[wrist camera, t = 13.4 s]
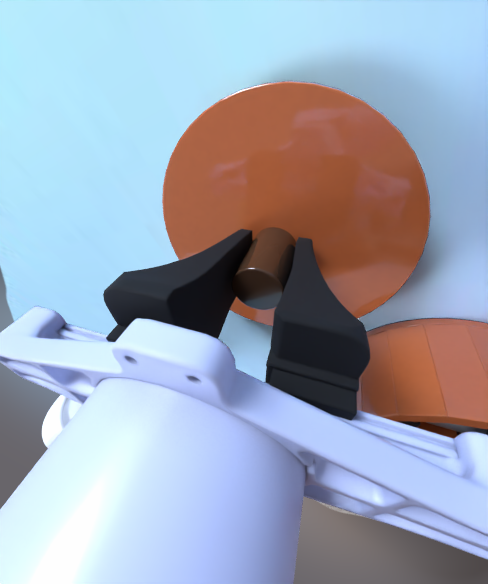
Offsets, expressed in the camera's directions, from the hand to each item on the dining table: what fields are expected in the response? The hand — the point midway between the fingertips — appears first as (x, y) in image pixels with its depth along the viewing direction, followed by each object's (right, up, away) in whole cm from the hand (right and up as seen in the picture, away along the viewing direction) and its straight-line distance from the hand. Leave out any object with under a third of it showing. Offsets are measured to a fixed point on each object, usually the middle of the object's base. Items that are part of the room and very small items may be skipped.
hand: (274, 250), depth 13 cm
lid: (0, +1, +1) cm, 1 cm away
